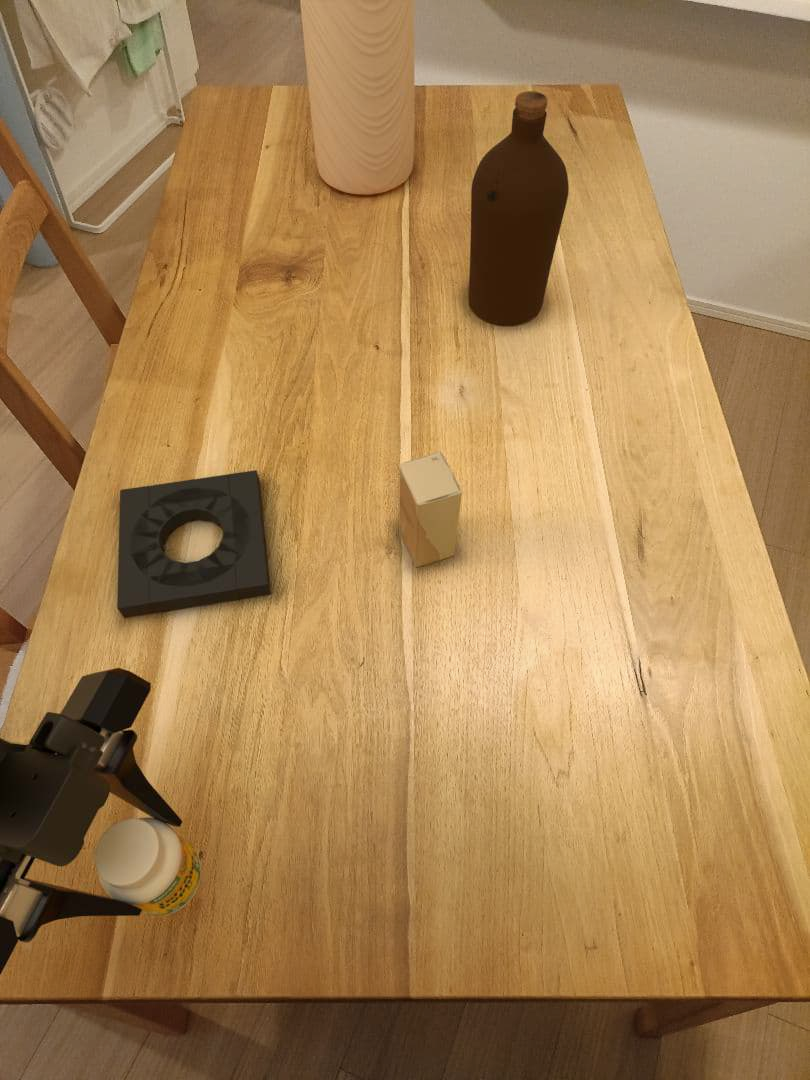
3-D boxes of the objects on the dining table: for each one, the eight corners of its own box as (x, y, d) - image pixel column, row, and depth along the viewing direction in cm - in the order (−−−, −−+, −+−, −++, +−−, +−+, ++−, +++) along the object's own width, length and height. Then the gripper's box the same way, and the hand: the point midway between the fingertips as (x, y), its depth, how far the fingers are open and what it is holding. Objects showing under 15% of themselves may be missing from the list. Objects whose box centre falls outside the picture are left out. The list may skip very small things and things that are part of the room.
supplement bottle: (155, 826, 58) (116, 792, 50) (217, 856, 57) (186, 826, 49) (113, 898, 55) (64, 874, 47) (177, 931, 54) (138, 912, 46)
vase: (413, 199, 109) (414, -69, 83) (312, 198, 109) (282, -70, 83) (415, 144, 117) (416, -118, 91) (321, 143, 117) (296, -119, 91)
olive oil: (541, 336, 94) (580, 133, 73) (456, 323, 95) (469, 120, 74) (551, 280, 99) (590, 77, 79) (471, 269, 101) (487, 66, 80)
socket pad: (123, 618, 73) (117, 608, 71) (125, 501, 80) (119, 489, 79) (271, 594, 74) (267, 584, 73) (259, 481, 82) (256, 469, 80)
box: (398, 529, 78) (396, 460, 69) (437, 517, 79) (441, 447, 70) (416, 570, 76) (417, 505, 66) (457, 557, 76) (463, 490, 67)
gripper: (-165, 977, 32) (144, 1066, 40) (70, 603, 42) (283, 731, 49) (-198, 935, 40) (66, 1015, 48) (7, 628, 50) (199, 735, 57)
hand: (159, 867), depth 50 cm, fingers closed on supplement bottle, 5 cm apart
